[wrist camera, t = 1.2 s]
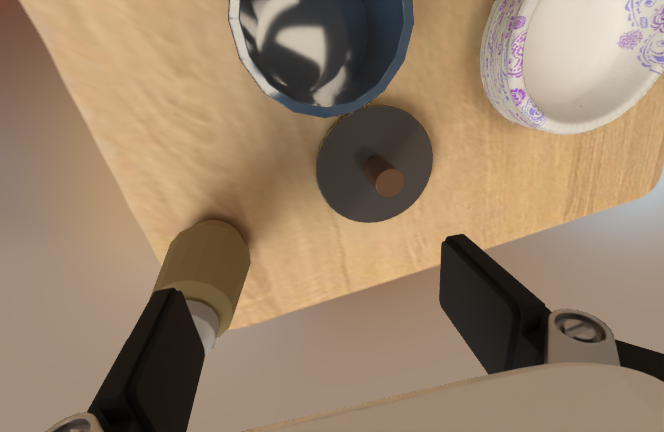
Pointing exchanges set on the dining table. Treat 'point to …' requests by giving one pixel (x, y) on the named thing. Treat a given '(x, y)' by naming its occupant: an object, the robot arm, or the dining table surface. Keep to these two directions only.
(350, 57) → the pot
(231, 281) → the squeeze bottle
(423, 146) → the lid
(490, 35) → the paper bowls
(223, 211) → the dining table surface
